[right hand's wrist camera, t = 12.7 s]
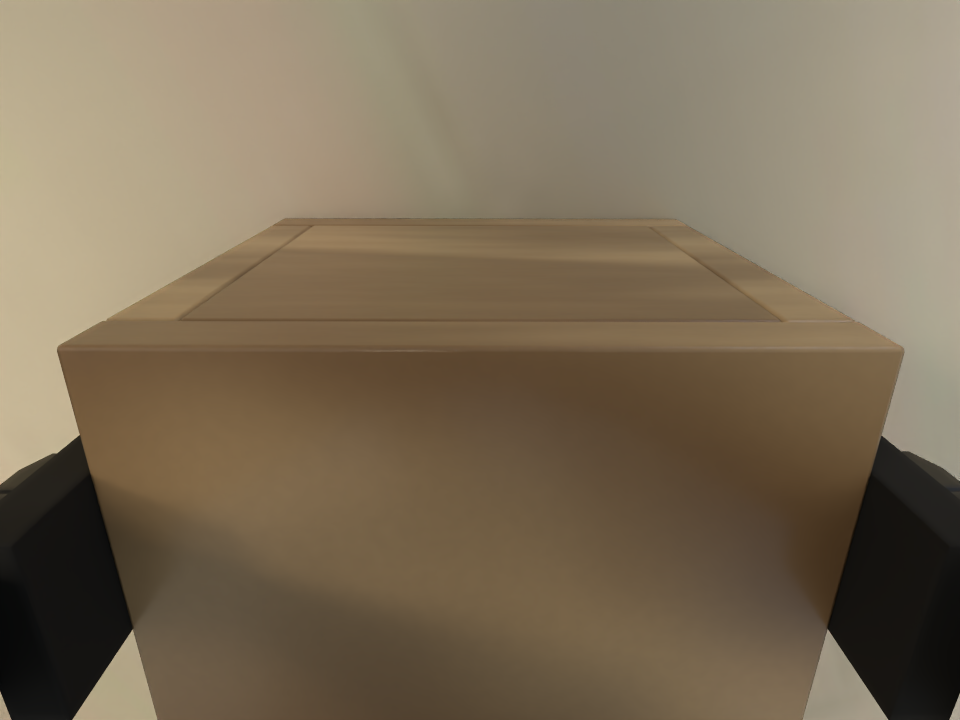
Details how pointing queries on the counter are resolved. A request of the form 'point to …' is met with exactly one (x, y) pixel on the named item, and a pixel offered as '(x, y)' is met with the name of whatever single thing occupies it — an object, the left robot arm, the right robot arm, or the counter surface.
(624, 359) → the cabinet
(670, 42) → the counter surface
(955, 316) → the counter surface
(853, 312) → the counter surface
